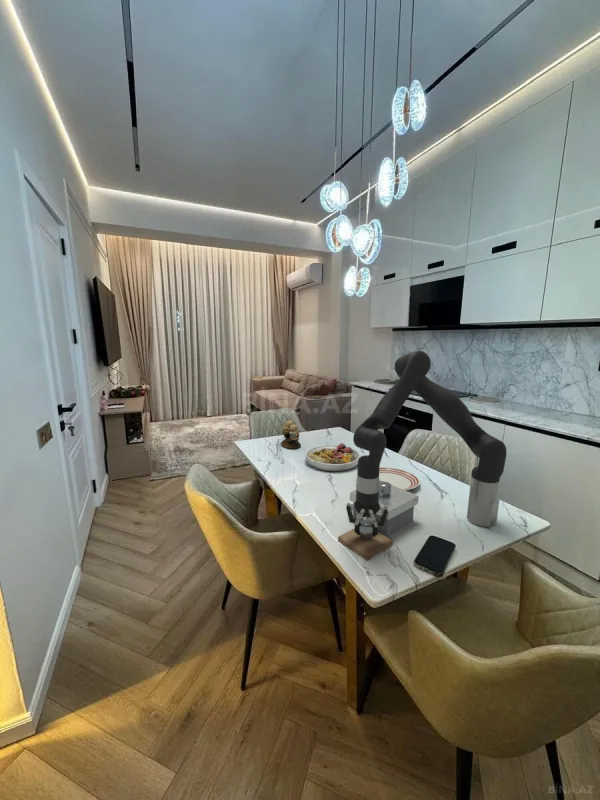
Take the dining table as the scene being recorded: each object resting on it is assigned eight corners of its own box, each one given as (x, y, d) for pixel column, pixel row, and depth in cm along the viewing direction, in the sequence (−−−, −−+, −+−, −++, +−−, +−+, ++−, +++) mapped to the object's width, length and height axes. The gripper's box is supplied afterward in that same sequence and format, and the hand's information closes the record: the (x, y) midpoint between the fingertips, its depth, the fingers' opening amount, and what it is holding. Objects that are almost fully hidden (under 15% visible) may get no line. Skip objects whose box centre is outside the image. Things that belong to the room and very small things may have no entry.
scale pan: (417, 503, 124) (418, 496, 124) (388, 520, 113) (388, 511, 113) (379, 487, 138) (379, 479, 138) (349, 500, 127) (350, 492, 127)
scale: (412, 520, 126) (414, 500, 124) (384, 536, 115) (386, 515, 114) (379, 503, 138) (380, 486, 137) (351, 517, 128) (351, 498, 126)
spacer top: (376, 535, 111) (377, 524, 110) (366, 541, 108) (367, 530, 107) (365, 528, 115) (365, 518, 114) (355, 534, 112) (355, 523, 111)
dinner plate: (370, 467, 177) (371, 462, 176) (424, 479, 163) (425, 472, 162) (351, 487, 153) (351, 481, 153) (412, 502, 140) (412, 495, 139)
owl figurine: (305, 448, 207) (305, 422, 203) (288, 451, 201) (288, 424, 198) (293, 440, 222) (293, 415, 219) (277, 443, 217) (276, 418, 214)
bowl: (347, 478, 164) (348, 463, 162) (295, 466, 179) (295, 452, 177) (367, 459, 189) (367, 446, 188) (320, 450, 204) (320, 438, 203)
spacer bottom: (393, 495, 125) (394, 485, 124) (384, 498, 122) (385, 488, 121) (383, 490, 129) (383, 480, 128) (374, 493, 126) (374, 483, 125)
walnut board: (393, 544, 111) (393, 540, 111) (367, 560, 103) (367, 556, 103) (363, 527, 121) (363, 523, 121) (338, 540, 113) (338, 536, 113)
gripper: (389, 484, 111) (387, 530, 114) (346, 481, 113) (345, 526, 117) (390, 495, 103) (388, 543, 107) (344, 490, 106) (343, 538, 109)
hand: (365, 534), depth 112 cm, fingers closed on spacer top, 5 cm apart
